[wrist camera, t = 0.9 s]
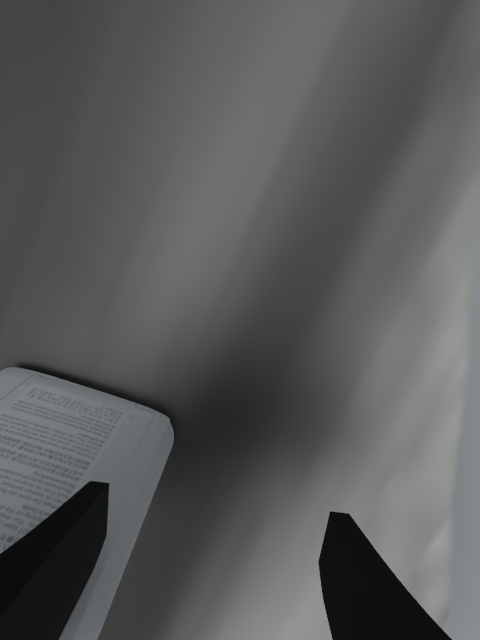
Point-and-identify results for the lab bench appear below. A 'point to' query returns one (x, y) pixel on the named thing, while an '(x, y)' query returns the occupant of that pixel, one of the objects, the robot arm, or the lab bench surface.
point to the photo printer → (78, 471)
